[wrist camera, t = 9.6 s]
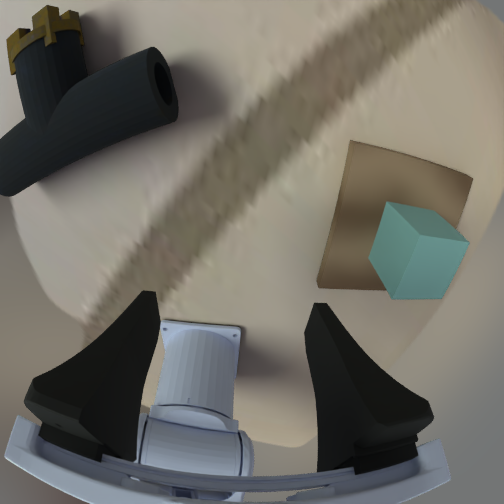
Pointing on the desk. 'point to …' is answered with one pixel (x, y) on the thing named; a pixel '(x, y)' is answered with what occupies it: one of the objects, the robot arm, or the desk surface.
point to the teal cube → (416, 252)
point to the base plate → (382, 208)
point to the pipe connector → (76, 100)
